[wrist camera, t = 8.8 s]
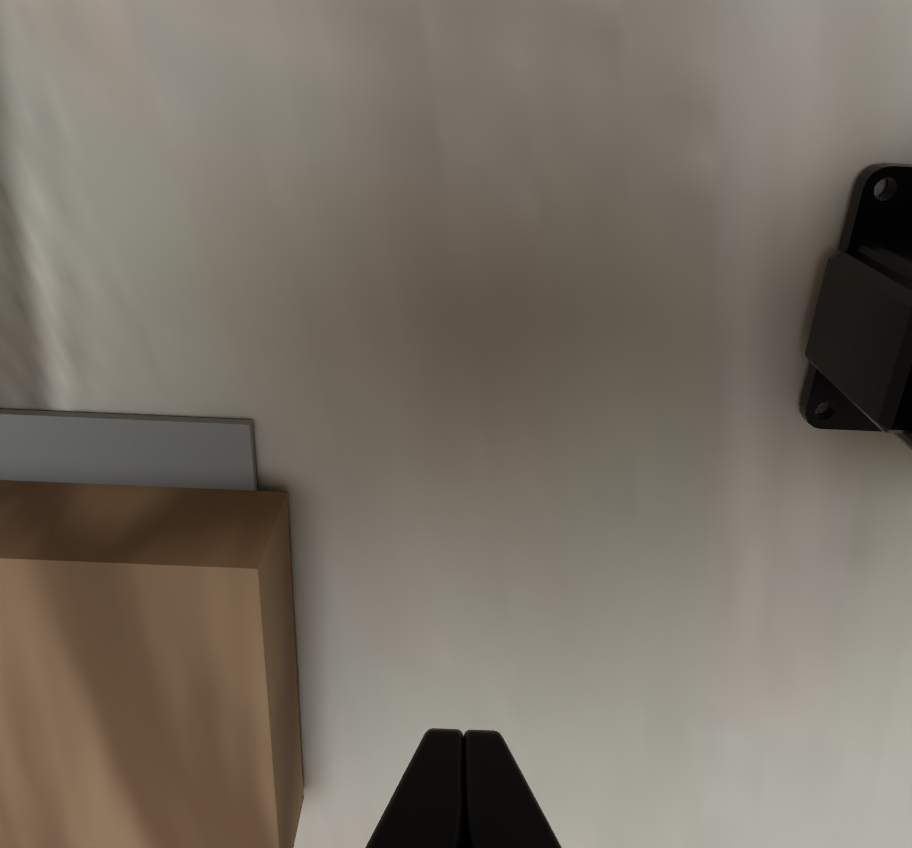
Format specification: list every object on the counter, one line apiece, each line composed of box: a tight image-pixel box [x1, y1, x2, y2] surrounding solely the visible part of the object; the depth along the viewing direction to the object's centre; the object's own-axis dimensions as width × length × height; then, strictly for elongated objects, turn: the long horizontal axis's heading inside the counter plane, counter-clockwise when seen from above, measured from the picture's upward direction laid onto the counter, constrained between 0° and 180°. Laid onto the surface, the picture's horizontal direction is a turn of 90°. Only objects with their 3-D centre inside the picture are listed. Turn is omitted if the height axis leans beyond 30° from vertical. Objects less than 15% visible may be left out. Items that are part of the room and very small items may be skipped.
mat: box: [0, 409, 258, 491], centre depth 25 cm, size 11×16×1 cm
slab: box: [0, 480, 304, 848], centre depth 23 cm, size 4×12×9 cm
